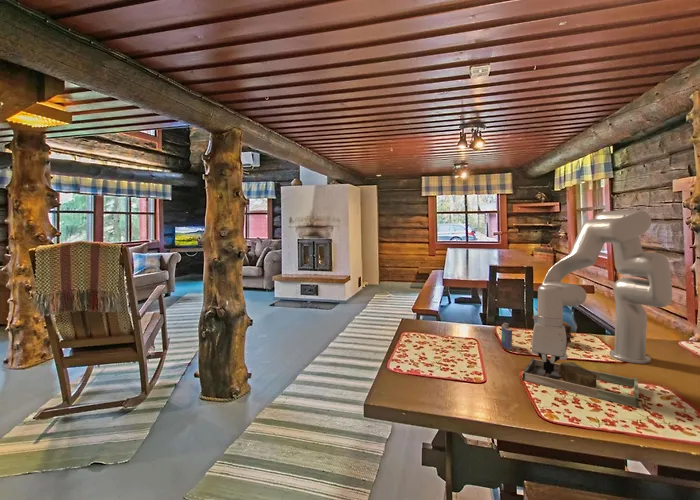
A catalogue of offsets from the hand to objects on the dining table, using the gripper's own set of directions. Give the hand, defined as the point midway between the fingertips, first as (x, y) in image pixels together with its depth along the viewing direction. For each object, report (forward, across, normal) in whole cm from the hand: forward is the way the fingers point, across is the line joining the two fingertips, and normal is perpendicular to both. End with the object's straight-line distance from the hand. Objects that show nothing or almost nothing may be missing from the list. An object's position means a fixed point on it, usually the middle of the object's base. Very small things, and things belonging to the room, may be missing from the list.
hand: (548, 372), depth 121 cm
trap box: (+2, +9, 0) cm, 9 cm away
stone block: (+2, +8, 0) cm, 8 cm away
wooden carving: (+2, -3, +43) cm, 43 cm away
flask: (+2, -20, +23) cm, 30 cm away
